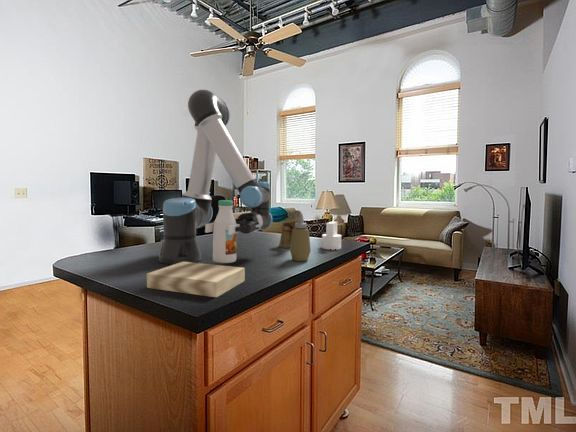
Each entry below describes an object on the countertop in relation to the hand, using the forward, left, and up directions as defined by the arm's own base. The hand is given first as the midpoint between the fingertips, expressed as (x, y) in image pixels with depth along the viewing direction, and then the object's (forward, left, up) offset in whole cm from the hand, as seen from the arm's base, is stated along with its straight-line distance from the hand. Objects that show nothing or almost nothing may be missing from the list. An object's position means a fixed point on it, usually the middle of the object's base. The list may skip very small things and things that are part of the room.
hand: (217, 229), depth 104 cm
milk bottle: (0, +5, -11) cm, 12 cm away
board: (0, -10, -15) cm, 18 cm away
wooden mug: (+6, +56, -15) cm, 58 cm away
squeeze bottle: (+18, +32, -15) cm, 39 cm away
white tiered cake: (+24, +63, -15) cm, 69 cm away
